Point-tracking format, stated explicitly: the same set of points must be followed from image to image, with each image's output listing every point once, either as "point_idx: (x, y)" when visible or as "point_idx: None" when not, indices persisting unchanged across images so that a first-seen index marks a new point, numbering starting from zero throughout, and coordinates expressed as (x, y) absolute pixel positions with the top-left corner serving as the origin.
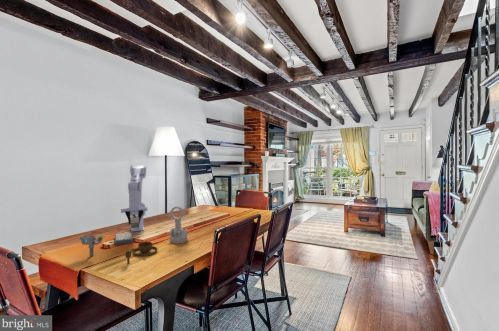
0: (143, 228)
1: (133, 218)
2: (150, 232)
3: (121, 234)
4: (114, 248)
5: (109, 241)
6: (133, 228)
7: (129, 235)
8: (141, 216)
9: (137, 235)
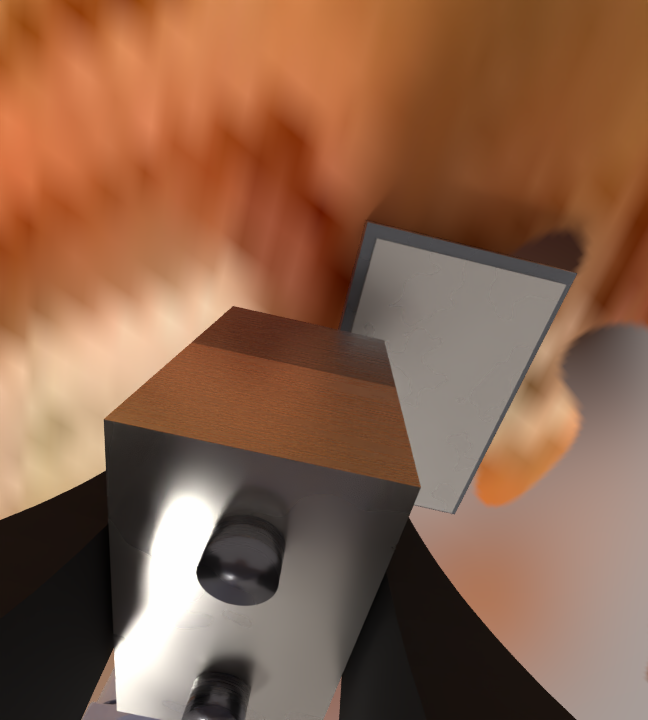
0: None
1: (320, 449)
2: None
3: (416, 464)
4: (627, 127)
5: (534, 420)
6: None
7: None
8: (22, 513)
9: None
